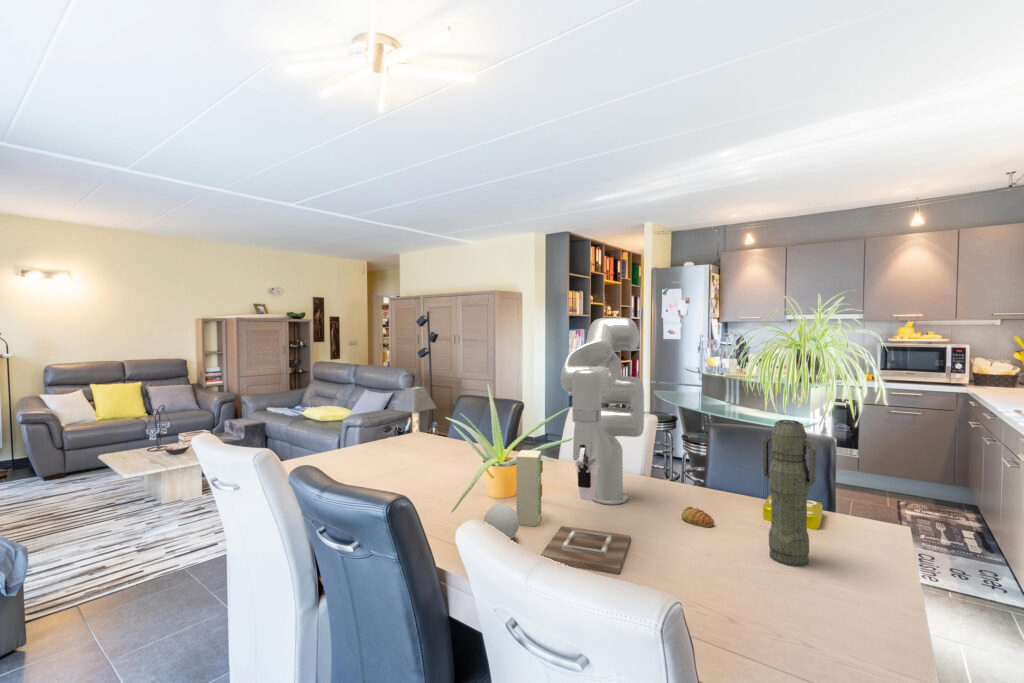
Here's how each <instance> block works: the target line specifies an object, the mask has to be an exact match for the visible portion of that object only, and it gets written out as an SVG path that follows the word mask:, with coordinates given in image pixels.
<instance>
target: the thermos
mask: <svg viewBox="0 0 1024 683" xmlns="http://www.w3.org/2000/svg"><path fill="white" fill-rule="evenodd" d="M769 442H770V443H771V451H772V456H771V462H770V465H769ZM807 449H808V450H809V466H808V465H807V459H806V455H807ZM816 463H817V448H816V447H815V446H814V444H813V443H812V442H808V441H807V432H806V429H805V428H804V424H803V423H801V422H800V421H797V420H793V419H791V420H790V419H779V420H778V421H775V423H774V425H773V427H772V430H771V436H767V437H766V439H765V440H764V441H763V474H764V477H767V479H768V484H769V485H768V486H769V489H770V492H771V493H770V495H771V521H770V526H771V527H770V528H769V529H770V530H769V531H768V547H769V557H770V558H771V560H772V561H774V562H777V563H778V564H781V565H785V566H791V567H805V566H807V565H808V564H809V554H810V538H809V537H810V536H809V533H808V529H807V499H808V495H809V493H810V487H811V486H812V485H814V484H815V483H816V470H817V468H816V465H817V464H816ZM808 467H809V468H808Z"/></svg>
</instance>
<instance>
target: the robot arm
mask: <svg viewBox="0 0 1024 683" xmlns="http://www.w3.org/2000/svg"><path fill="white" fill-rule="evenodd" d="M640 340H641V337H640V330H639V328H638V325H637V324H636V322H635V321H634V320H633V319H631V318H629V317H601V318H597V319H594V320H593V321H592V322H591V325H590V326H589V328H588V331H587V337H586V340H585V343H584V344H582V345H581V346H579V347H578V348H576V349H574V350H573V351H572V352H570V353H568V355H567V356H566V358H565V360H564V363H563V365H562V370H561V374H560V386H561V388H562V390H564V391H565V392H567V393H572V394H571V396H572V402H571V403H572V410H571V411H572V422H573V423H574V428H573V440H572V441H573V445H572V446H573V447H572V448H573V450H572V460H574V461H577V460H578V475H577V487H578V488H579V487H583V488H590V487H591V472H589V469H590V461H592V460H597V461H598V462H599V467H598V473H597V481H596V489H595V498H594V500H592V501H593V502H594V503H595V502H596V503H598V504H602V505H613V506H615V505H622V504H623V503H624V504H625V503H626V502H627V501H628V494H626V493H625V492H624V490H623V488H624V482H623V481H624V477H623V474H624V473H623V472H624V471H623V470H624V469H623V468H624V467H623V465H624V462H623V461H624V460H623V457H624V456H623V454H624V453H623V452H624V451H623V446H622V445H621V443H620V441H619V440H618V439H617V437H626V438H627V437H628V438H637V437H641V436H642V435H643V434H644V428H645V391H644V389H645V388H644V385H643V381H642V380H641V379H640V378H639V377H636V376H623V375H622V361H621V359H620V357H619V356H618V355H617V353H616V352H615V351H635V350H636V349H637V348H638V347H639V345H640V342H641V341H640ZM603 403H604V404H610V405H611V404H612V405H627V406H629V407H630V408H626V407H620V408H619V407H602V404H603ZM584 458H586V459H588V460H584ZM584 463H587V467H586V464H584Z"/></svg>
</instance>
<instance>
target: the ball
mask: <svg viewBox="0 0 1024 683" xmlns="http://www.w3.org/2000/svg"><path fill="white" fill-rule="evenodd" d="M484 521H485V522H487V523H488V524H490V525H492V526H494V527H495V528H496V529H498V530H499V531H501V532H502V533H504V534H505V535H506V536H508V537H509V538H510V540H511V539H513V538H514V537H515V536H516V535H517V533H518V530H519V527H520V525H519V518H518V515H517V510H515V509H514V508H513V507H511V506H510V505H508V504H503V503H498V504H495V505H493V506H492V507H490V508H489V509H488V510H487V511H486V512H485V515H484V518H483V522H484Z"/></svg>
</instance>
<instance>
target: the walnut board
mask: <svg viewBox="0 0 1024 683" xmlns="http://www.w3.org/2000/svg"><path fill="white" fill-rule="evenodd" d="M631 542H632V534H631V535H629V534H623V533H615V532H609V531H608V532H607V531H601V530H595V529H586V528H580V527H579V528H578V527H573V526H566V525H560V528H559V529H558V530H557V531H556V532H555V534H554V535H553V537H552V538H551V540H550V541H549V542H548V544H547V545H546V546H545V548H544V549H543V550H542V552H541V554H540V555H541V556H544V557H547V558H550V559H552V560H554V561H557V562H560V563H564V564H566V565H565V566H567V565H569V566H568V567H575V568H579V567H581V568H580V569H586V570H591V569H592V571H598V572H602V573H610V574H616V575H620V574H621V572H622V568H623V565H624V563H625V560H626V558H627V554H628V551H629V548H630V545H631ZM576 566H577V567H576Z"/></svg>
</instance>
